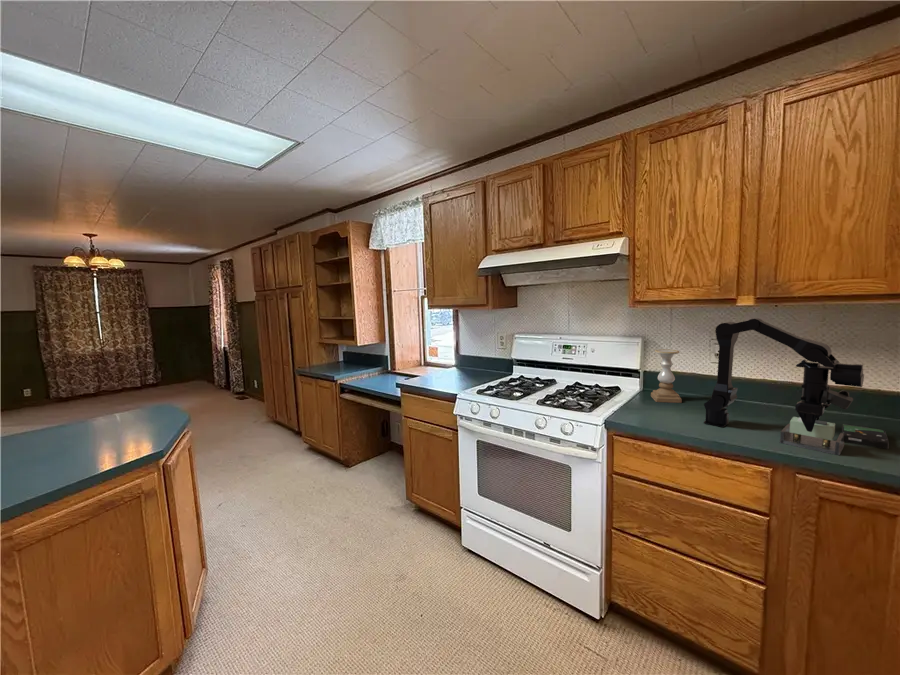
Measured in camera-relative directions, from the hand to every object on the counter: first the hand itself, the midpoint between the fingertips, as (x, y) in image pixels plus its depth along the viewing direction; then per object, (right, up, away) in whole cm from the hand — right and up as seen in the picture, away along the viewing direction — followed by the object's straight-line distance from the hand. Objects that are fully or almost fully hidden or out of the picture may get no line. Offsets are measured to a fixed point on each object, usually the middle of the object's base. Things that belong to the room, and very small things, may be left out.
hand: (812, 428), depth 122 cm
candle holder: (-15, 0, +57) cm, 59 cm away
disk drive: (+21, -5, +3) cm, 22 cm away
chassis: (0, -6, +1) cm, 6 cm away
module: (0, -2, 0) cm, 2 cm away
